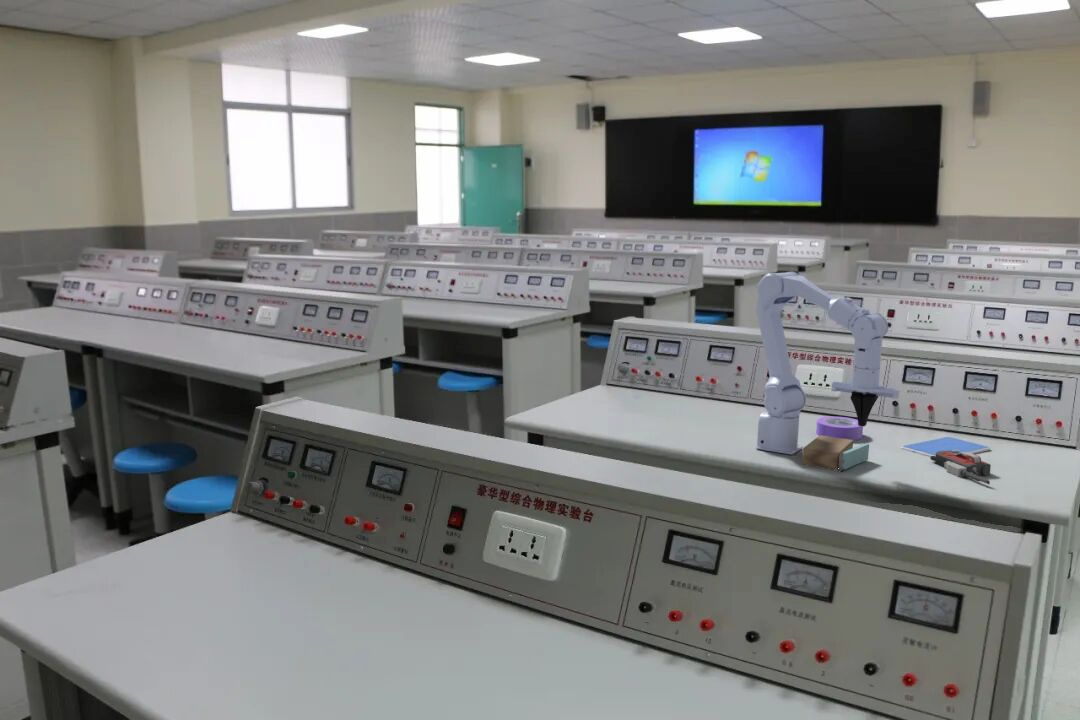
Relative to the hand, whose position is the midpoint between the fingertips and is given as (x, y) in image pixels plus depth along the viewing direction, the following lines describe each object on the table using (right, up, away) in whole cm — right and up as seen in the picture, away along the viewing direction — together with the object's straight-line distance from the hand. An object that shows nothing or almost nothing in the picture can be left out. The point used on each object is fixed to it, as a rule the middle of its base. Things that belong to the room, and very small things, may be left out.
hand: (862, 425), depth 202 cm
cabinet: (-5, -9, +9) cm, 13 cm away
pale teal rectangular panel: (0, -9, +4) cm, 10 cm away
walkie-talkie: (+24, -11, 0) cm, 27 cm away
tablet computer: (+28, -8, +19) cm, 35 cm away
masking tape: (+6, -5, +32) cm, 33 cm away
